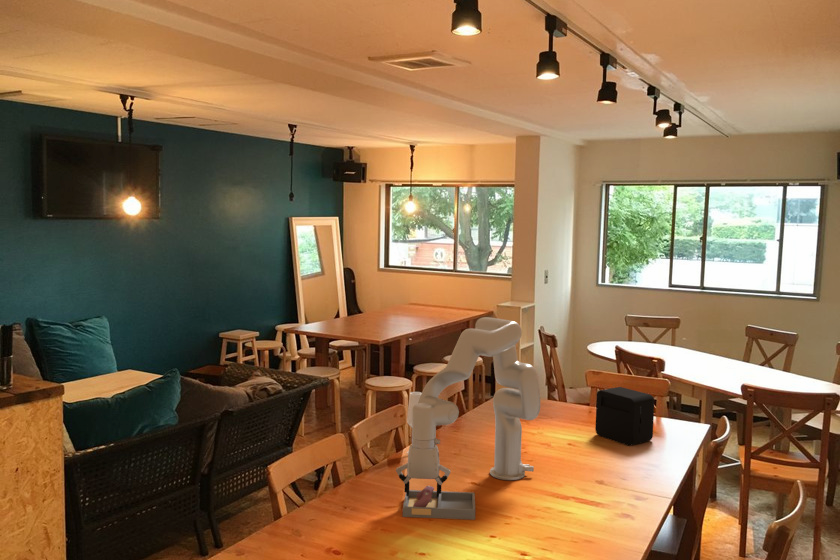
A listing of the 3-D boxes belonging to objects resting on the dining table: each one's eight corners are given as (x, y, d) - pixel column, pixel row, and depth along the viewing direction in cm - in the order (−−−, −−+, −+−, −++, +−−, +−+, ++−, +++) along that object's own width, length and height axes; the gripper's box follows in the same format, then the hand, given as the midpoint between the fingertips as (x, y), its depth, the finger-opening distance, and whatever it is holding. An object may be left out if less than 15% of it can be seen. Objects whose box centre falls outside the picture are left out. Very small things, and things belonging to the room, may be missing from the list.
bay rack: (474, 501, 231) (474, 492, 231) (475, 520, 217) (475, 510, 217) (406, 498, 233) (406, 489, 232) (402, 517, 218) (402, 507, 218)
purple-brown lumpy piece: (424, 516, 220) (434, 497, 220) (411, 508, 221) (421, 490, 220) (427, 503, 230) (437, 485, 229) (415, 496, 231) (425, 478, 230)
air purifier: (655, 441, 298) (657, 395, 296) (632, 447, 290) (634, 399, 288) (617, 429, 314) (619, 385, 313) (594, 434, 306) (596, 389, 304)
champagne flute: (411, 456, 274) (412, 396, 272) (403, 451, 280) (404, 392, 278) (426, 454, 277) (427, 394, 275) (418, 449, 283) (419, 390, 281)
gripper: (451, 439, 227) (450, 491, 228) (397, 438, 228) (396, 489, 229) (450, 447, 219) (449, 500, 221) (395, 445, 220) (394, 498, 222)
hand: (422, 495), depth 225 cm, fingers open, 9 cm apart
